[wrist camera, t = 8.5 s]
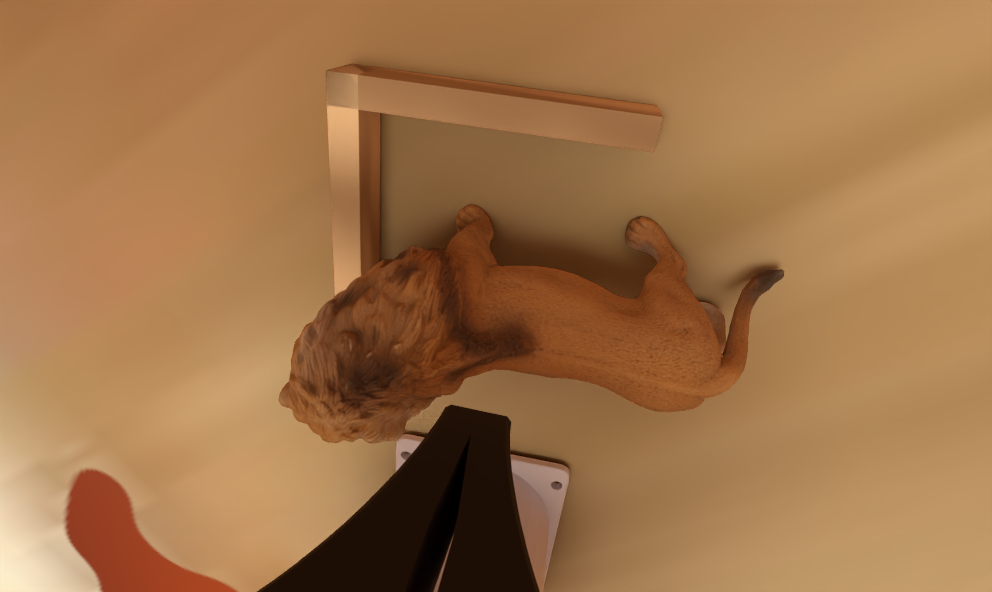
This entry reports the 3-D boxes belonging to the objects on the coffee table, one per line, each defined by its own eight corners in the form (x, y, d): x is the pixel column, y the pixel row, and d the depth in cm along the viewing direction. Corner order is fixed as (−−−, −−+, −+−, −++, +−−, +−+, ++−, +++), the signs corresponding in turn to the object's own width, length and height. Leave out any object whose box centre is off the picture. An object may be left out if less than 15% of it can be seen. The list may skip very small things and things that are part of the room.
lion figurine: (390, 325, 23) (283, 492, 15) (365, 201, 20) (223, 326, 13) (768, 327, 20) (876, 532, 12) (791, 187, 18) (944, 331, 10)
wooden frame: (600, 342, 22) (600, 372, 20) (356, 299, 23) (336, 324, 21) (656, 105, 17) (663, 117, 16) (351, 64, 18) (325, 70, 16)
